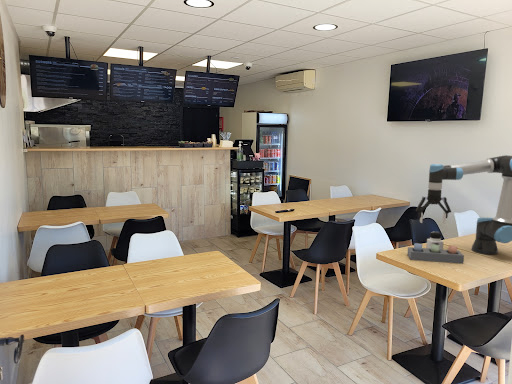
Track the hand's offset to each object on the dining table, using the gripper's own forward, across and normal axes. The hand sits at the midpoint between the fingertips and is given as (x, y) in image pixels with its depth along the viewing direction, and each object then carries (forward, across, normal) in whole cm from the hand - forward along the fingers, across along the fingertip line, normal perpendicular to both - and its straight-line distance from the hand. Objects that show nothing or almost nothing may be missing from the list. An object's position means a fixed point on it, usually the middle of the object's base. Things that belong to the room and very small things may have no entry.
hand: (432, 223), depth 237 cm
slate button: (+18, +8, +2) cm, 20 cm away
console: (+22, -2, +2) cm, 23 cm away
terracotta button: (+18, -12, +3) cm, 22 cm away
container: (+23, -7, -15) cm, 28 cm away
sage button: (+18, -2, +2) cm, 19 cm away
